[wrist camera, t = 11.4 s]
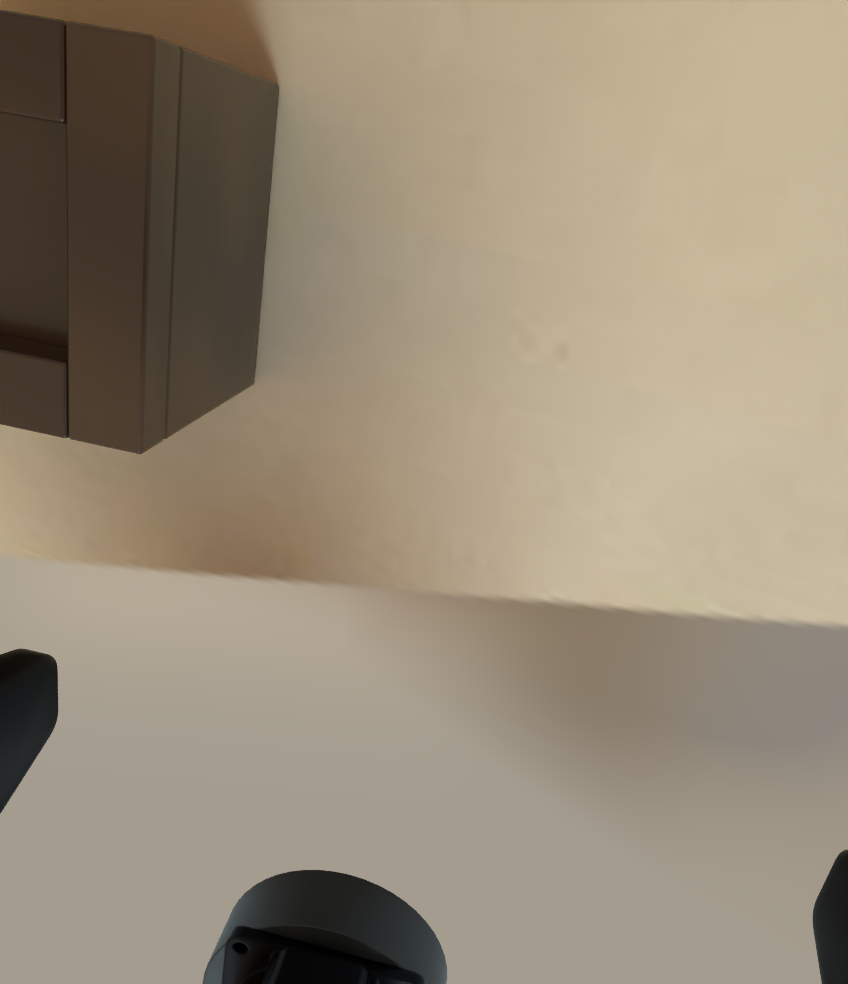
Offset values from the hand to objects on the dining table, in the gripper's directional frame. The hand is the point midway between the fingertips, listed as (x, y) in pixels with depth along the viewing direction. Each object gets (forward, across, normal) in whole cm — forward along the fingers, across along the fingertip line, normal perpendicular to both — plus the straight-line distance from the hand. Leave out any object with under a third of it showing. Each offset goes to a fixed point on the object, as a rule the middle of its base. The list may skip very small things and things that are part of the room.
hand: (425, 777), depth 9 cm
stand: (+12, +10, -4) cm, 16 cm away
